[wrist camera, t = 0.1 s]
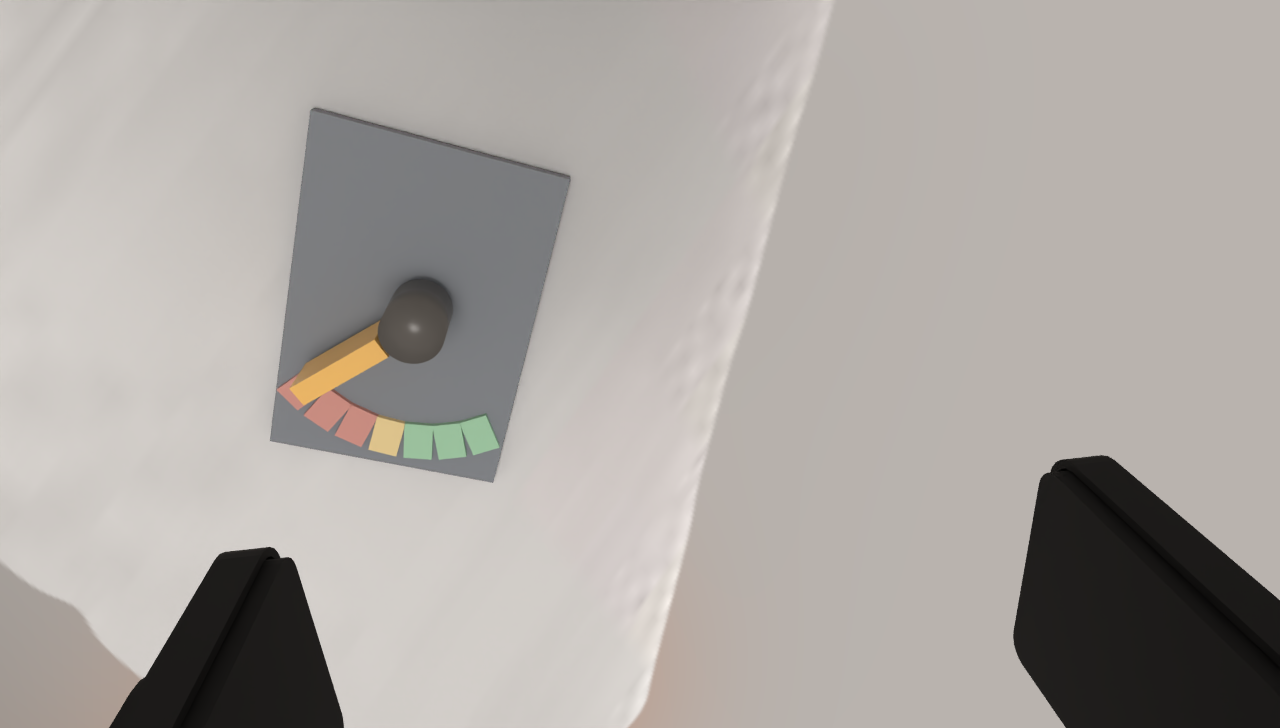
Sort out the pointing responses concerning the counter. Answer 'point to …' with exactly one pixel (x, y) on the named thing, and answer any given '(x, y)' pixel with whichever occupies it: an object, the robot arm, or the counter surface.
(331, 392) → the dial board
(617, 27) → the counter surface
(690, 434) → the counter surface
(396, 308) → the dial knob with pointer
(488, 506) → the counter surface
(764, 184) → the counter surface
